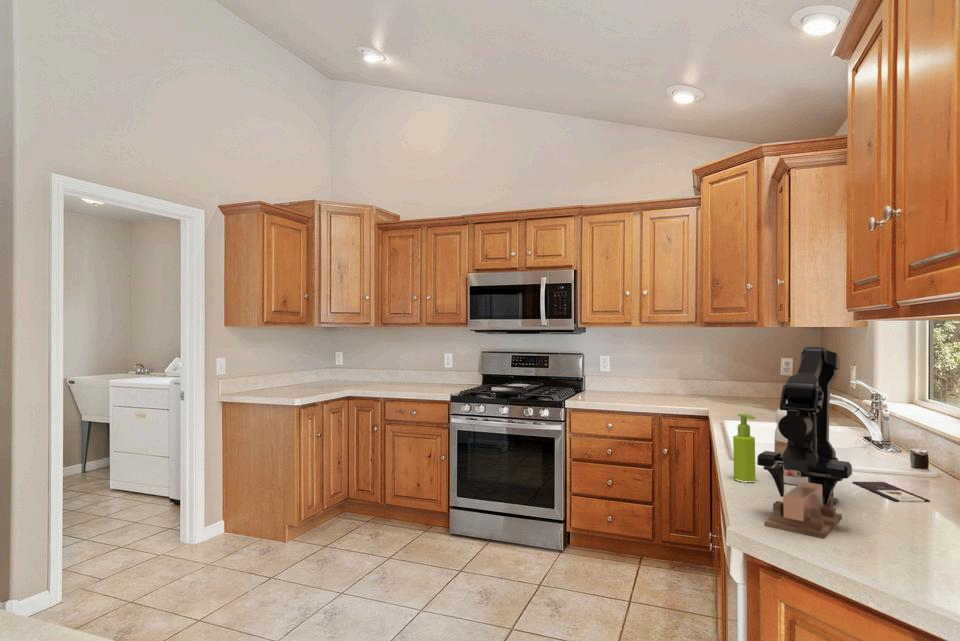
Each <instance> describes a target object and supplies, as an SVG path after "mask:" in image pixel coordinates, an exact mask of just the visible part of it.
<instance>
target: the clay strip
mask: <svg viewBox="0 0 960 641" xmlns="http://www.w3.org/2000/svg"><path fill="white" fill-rule="evenodd" d="M782 498H783V501H782V502H783V504H784V517H785V518H789V519H794V520H799V521H804V520H806V519H807V518H808V517H809V516H810V510H811V509H812V508H817V509H819V508H820V507H821V506H823V500H822V485H820V484H814V483H809V482H803V483H801V484H800V485H796V486H795V487H794V488H792V489H791V490H789V491H787V492H786V493H784V495H783V497H782Z"/></svg>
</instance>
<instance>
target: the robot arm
mask: <svg viewBox="0 0 960 641" xmlns="http://www.w3.org/2000/svg"><path fill="white" fill-rule="evenodd" d="M840 368H841V359H840V357H839V355H838V353H837V352H833V351H831V350H828V349H827V348H826V347H823V346H822V347H821V346H805V347H803V349H802V352H800V364H799V366H798V370H797V371H796V374H794V375H791V376H789V377H788V378H787V380H786V382H785V384H783V385H782V390H781V396H780V402H779V407H780V410H787V415H786V416H784V417H783V418H782V419H781V420H780V422H779V424H778V428H779V431H780V433H781V434H782V436H784V437H785V438H787V439H788V445H787V448H786V449H785V451H784V453H783V455H782V457H781V453H778V452H775V451H771V450H769V451H768V450H765V451H762V452H761V453H758V454H757V460H756V464H757V466H760V467H763V470H765V471H768V472H769V474H770V475H771V476H772V479H773V480H774V482H775V485H776V488H777V491H778V493H779V496H780V497H782V498H783V495H785V483H784V478H783V467H784V469H786V470H796V471H799V472H800V473H801V476H802V477H803V476H804V477H808V482H809V483H814V484H820V485H822V500H823V498H824V503H825V505H827V504H828V502H829V499H830V497H833V506H834V505H835V504H836V503H837V502H838V500H839V499H838V498H837V497H834V489H835V487H836V486H837V483H838V482H842V481H843V479H844V480H845V479H848V478H850V477H851V476H852V474H853V466H852V464H851V463H850V462H849V461H843V460H839V458H838V457H837V455H836V454H837V452H836V450H835V449H834V447H833V445H832V444H831V442H830V401H831V400H830V396H831V395H830V393H831V392H830V391H831V390H830V389H831V385H832V384H833V383H834V381H835V380H836V378H837V377H838V371H839V370H840ZM787 400H788V401H787ZM786 401H787V403H786ZM780 464H781V465H780Z"/></svg>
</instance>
